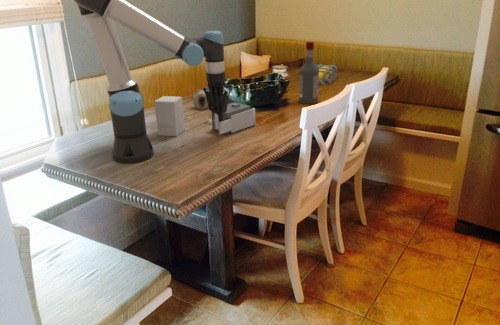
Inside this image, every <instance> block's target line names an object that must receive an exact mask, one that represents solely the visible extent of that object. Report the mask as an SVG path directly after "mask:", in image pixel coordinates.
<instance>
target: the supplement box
mask: <svg viewBox="0 0 500 325" xmlns="http://www.w3.org/2000/svg"><path fill="white" fill-rule="evenodd" d="M153 102H154V109H155V110H154V112H155V118H156V125H157V126H156V127H157V128H156V129H157V136H165V137H178V136H180V135H181V134H183V132H185V130H186V126H185V117H184V105H183V97H182V96H170V95H169V96H168V95H163V96H161V97H159V98H157V99H156V100H154V101H153Z"/></svg>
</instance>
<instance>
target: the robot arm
mask: <svg viewBox="0 0 500 325" xmlns="http://www.w3.org/2000/svg"><path fill="white" fill-rule="evenodd" d="M73 1H74V2H75V4H77V7H78V11H79V12H80V15H81V17H82V18H84V19H85V20H87V23H88V25H89V28H90V32H91V33H92V37H93V40H94V43H95V46H96V49H97V52H98V54H99V57H100V62H101V64H102V67H103V69H104V72H105V73H104V74H105V75H106V78H107V82H108V86H107V88H106V91H107V93H108V96H109V99H108V102H109V103H108V107H109V110H110V116H111V123H112V130H113V135H114V136H113V137H114V140H113V145H112V149H111V150H112V151H111V155H112V160H113V161H114V162H116V163H121V164H135V163H141V162H143V161H147V160H149V159H151V158H152V157H154V154H155V152H154V147H153V144H152V143H151V140H150V138H149V136H148V134H147V127H146V125H147V124H146V117H145V108H144V107H145V106H144V104H145V102H144V96H143V95H142V93H141V91H140V87H139V85H138V81H137V80H136V79H134V78H132V76H131V75H132V74H131V72H130V68H129V65H128V63H127V59H126V56H125V53H124V50H123V47H122V43H121V40H120V38H119V34H118V32H117V31H118V30H117V28H116V24H115V22H116V23H118V24H120V25H122V26H123V27H126V28H127V29H128V30H130V31H132V32H133V33H136V34H137V35H139V36H141V37H143V38H144V39H146V40H147V41H149V42H150V43H153V44H154V45H156V46H158V47H160V48H161V49H163V50H165V51H166V52H168V53H169V54H172V55H173V57H174V59H176V60H182V61H183V62H184V63H185V64H186V65H188V66H191V67H195V66H196V67H197V66H199V65H200V64H201V63H202V62H203V61H204V62H205V71H206V73H205V77H206V83H207V84H206V85H207V86H205V87H203V89H202V90H204V92H205V95H206V99H207V103H208V111H210V112H211V111H212V112H213V115H214V120H215V129H219V124H218V123H219V122H222V121H223V113H224V112H226V111H227V105H228V104H229V99H230V98H229V96H230V94H231V90H230V89H227V87H226V84H225V82H226V72H225V70H226V67H225V64H226V63H225V48H224V47H225V43H224V36H223V33H222V31H220V30H209V31H204V32H203V35H202V36H201V37H189V38H188V37H186V36H185V35H183V34H181V33H179V32H178V31H176V30H174V29H173V28H171V27H170V26H169V25H166V24H165V23H164V22H161V21H160V20H158V18H157V19H156V18H155V17H153V16H152V15H150V14H149V13H146V12H145V11H144V10H142V9H140V8H138V6H136V5H134V4H132V3H130V2H129V1H127V0H73ZM114 21H115V22H114Z"/></svg>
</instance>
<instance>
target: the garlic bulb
mask: <svg viewBox="0 0 500 325" xmlns="http://www.w3.org/2000/svg"><path fill="white" fill-rule="evenodd" d="M192 95H193V96H192V101H193V102H192V104H193V106H194V108H196V109H197V110H199V111H200V110H201V111H202V110H206V109H207V108H208V109H209V107H208V103H207V99H206V95H205V92H204V90H203V89H197V90H196V91H195V92H194V94H192Z"/></svg>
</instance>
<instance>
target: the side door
mask: <svg viewBox="0 0 500 325" xmlns="http://www.w3.org/2000/svg"><path fill="white" fill-rule="evenodd" d="M218 124H219V131H218V135H223V134H227V133H226V132H229V131H231V133H230V134H232V133H235V132H239V131H241V130H244V129H246V128H249V127H252V126H256V108H255V107H252V108H251V109H250V110H247V111H244V112H241V113H238V114H235V115H232V116H230V119H228V120H225V121H222V122H219V123H218Z"/></svg>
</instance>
